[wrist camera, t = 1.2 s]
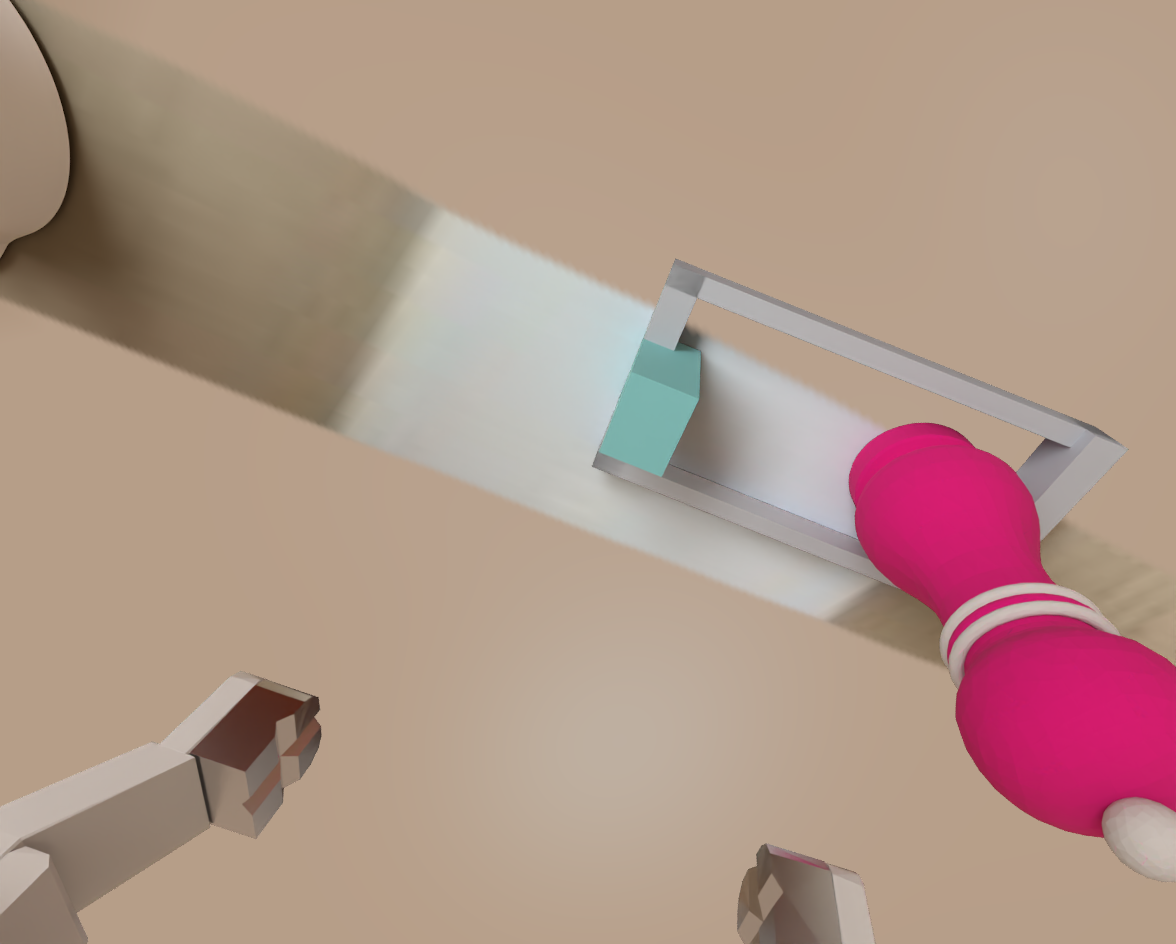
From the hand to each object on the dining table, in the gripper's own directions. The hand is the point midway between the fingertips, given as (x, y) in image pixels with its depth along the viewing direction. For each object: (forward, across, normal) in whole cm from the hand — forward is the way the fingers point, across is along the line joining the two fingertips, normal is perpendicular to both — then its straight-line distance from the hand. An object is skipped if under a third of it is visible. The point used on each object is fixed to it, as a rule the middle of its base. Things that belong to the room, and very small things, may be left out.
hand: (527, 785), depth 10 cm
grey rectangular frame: (+24, -9, +1) cm, 26 cm away
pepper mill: (+25, -14, +2) cm, 28 cm away
